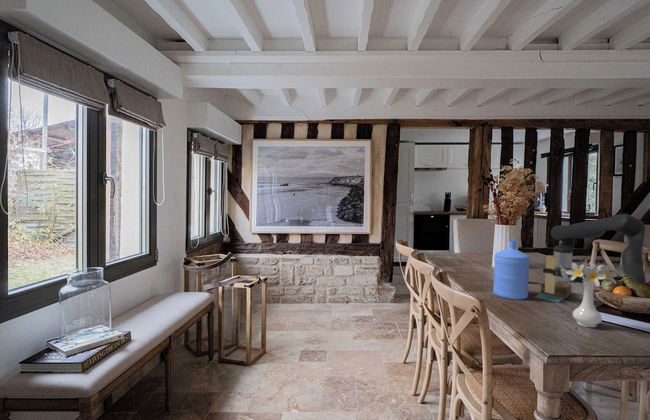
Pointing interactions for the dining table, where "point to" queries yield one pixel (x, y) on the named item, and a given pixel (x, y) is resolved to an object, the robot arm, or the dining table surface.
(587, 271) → the flower vase
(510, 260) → the water jug
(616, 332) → the dining table surface
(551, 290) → the tan wooden peg
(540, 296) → the teal mat
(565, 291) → the socket block
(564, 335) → the dining table surface
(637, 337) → the dining table surface
